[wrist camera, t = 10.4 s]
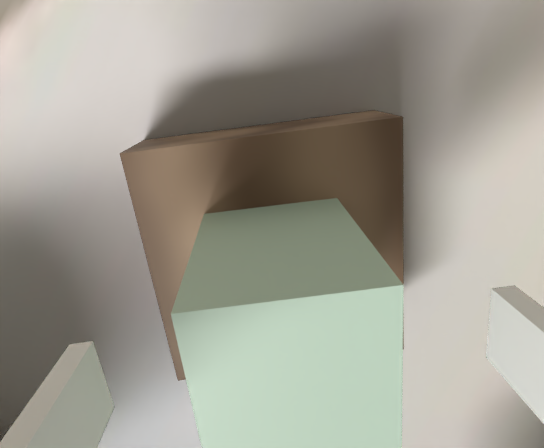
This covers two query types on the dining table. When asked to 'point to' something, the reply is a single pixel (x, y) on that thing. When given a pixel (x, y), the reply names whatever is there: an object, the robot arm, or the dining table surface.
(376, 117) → the walnut plinth
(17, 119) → the dining table surface
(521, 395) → the robot arm
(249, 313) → the sage block
